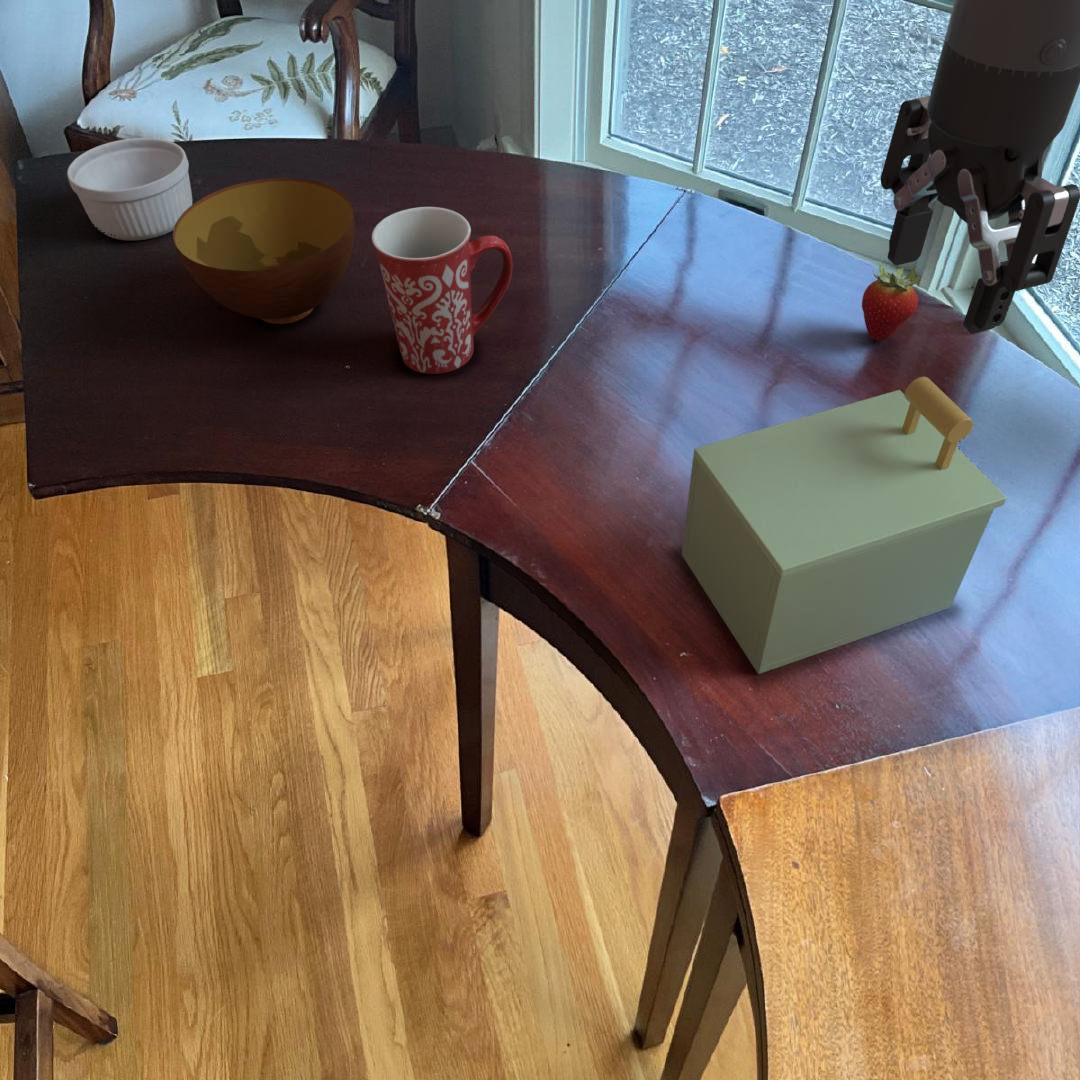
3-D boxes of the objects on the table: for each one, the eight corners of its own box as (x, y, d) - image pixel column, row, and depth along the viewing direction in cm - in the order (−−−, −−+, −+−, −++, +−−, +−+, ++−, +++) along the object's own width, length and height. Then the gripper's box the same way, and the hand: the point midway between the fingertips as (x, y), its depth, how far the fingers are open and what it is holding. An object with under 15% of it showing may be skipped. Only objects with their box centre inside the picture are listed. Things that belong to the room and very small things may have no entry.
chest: (858, 499, 84) (888, 400, 76) (950, 608, 76) (994, 509, 68) (681, 554, 81) (692, 456, 73) (758, 674, 73) (780, 578, 65)
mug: (394, 387, 96) (374, 264, 86) (388, 332, 102) (368, 211, 92) (523, 370, 97) (518, 247, 88) (510, 317, 104) (503, 196, 94)
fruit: (909, 329, 100) (930, 258, 94) (902, 360, 97) (923, 289, 91) (857, 319, 102) (875, 249, 96) (849, 349, 98) (866, 279, 92)
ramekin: (191, 181, 125) (174, 127, 120) (212, 231, 117) (195, 175, 112) (82, 206, 122) (60, 151, 117) (95, 258, 113) (73, 202, 108)
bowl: (386, 334, 102) (371, 247, 95) (212, 374, 98) (183, 286, 91) (348, 248, 113) (332, 164, 106) (191, 282, 110) (163, 197, 102)
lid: (897, 397, 77) (914, 339, 73) (1004, 505, 68) (1030, 447, 64) (692, 455, 73) (699, 398, 69) (780, 578, 65) (793, 520, 61)
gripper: (1172, 76, 50) (1057, 340, 62) (995, -17, 60) (925, 229, 71) (1047, 101, 49) (955, 368, 61) (885, 2, 58) (832, 251, 70)
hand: (939, 293), depth 66 cm, fingers open, 8 cm apart
